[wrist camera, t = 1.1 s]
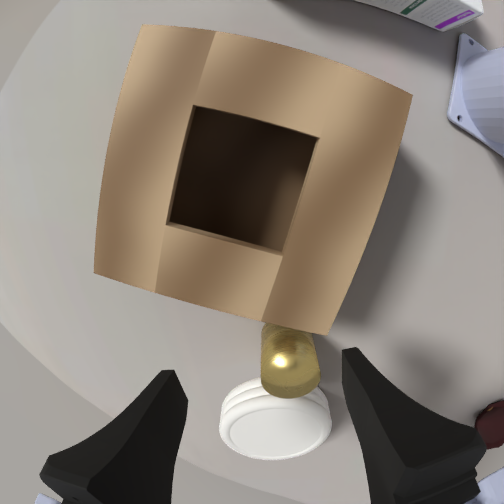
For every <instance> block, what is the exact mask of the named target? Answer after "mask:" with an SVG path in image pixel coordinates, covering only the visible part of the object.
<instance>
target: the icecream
mask: <svg viewBox="0 0 504 504" xmlns="http://www.w3.org/2000/svg"><path fill="white" fill-rule="evenodd" d="M475 428H476V430H477V431H478V432H479V434H480V435H481V437H482V438H483V440H484V442H485V444H486V446H487V449H491V448H497V447H500V446H502V445H503V443H504V400H502V401H499V402H496V403H493V404H490V405H488V406H487V407H486V408H485V410H484V411H483V412H482V413H481V414H479V416H478V417H477V419H476V422H475Z"/></svg>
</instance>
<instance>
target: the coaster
mask: <svg viewBox="0 0 504 504" xmlns="http://www.w3.org/2000/svg"><path fill="white" fill-rule="evenodd" d="M331 428H332V420H331V417H330V410H329V407H328V401H327V398H326V396H325V395H324V393H323V392H322V391H321V390H320V388H318V387H316V388H315V389H314V390H313V391H311V392H310V393H308V394H306V395H304V396H301V397H298V398H292V399H284V398H278V397H275V396H273V395H271V394H269V393H268V392H266V391H265V390H264V388H263V387H262V384H261V377H259V378H256V379H252V380H249V381H246V382H244V383H242V384H240V385H239V386H237V387H235V388H234V389H233V390H232V391H230V393H229V394H228V395H227V396H226V398H225V400H224V401H223V404H222V412H221V416H220V423H219V432H220V436H221V438H222V440H223V441H224V442H225V443H226V445H228V446H229V447H230V448H231V449H233V450H234V451H236V452H238V453H240V454H242V455H244V456H247V457H250V458H255V459H261V460H284V459H290V458H295V457H298V456H301V455H304V454H306V453H309V452H311V451H312V450H314V449H316V448H317V447H318V446H320V445H321V444H322V443H323V442H324V441H325V440H326V439H327V438H328V436H329V434H330V432H331Z"/></svg>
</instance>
